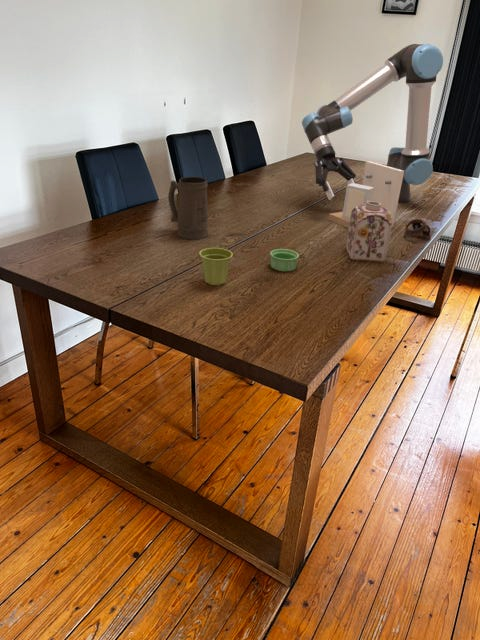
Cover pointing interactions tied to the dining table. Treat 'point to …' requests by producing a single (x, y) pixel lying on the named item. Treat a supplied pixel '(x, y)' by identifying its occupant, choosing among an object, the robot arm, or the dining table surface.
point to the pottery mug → (417, 228)
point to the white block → (356, 198)
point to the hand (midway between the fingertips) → (344, 196)
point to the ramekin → (284, 259)
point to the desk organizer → (378, 189)
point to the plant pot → (215, 264)
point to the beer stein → (190, 207)
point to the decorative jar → (369, 232)
